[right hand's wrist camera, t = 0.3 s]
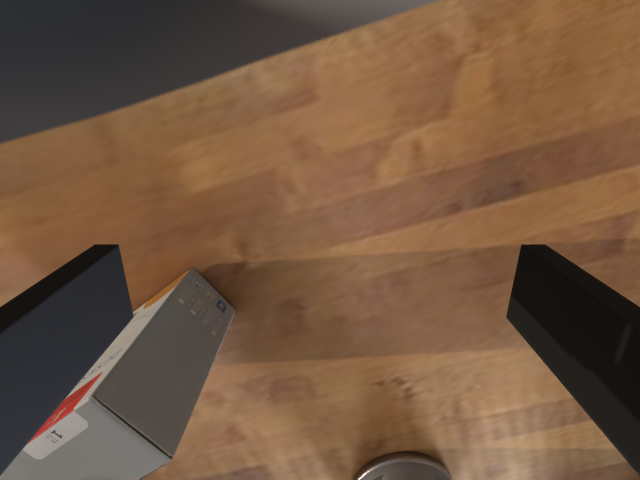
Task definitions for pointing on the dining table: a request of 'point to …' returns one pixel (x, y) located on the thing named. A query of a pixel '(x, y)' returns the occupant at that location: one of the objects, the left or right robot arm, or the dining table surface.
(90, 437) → the hard drive box
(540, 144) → the dining table surface
